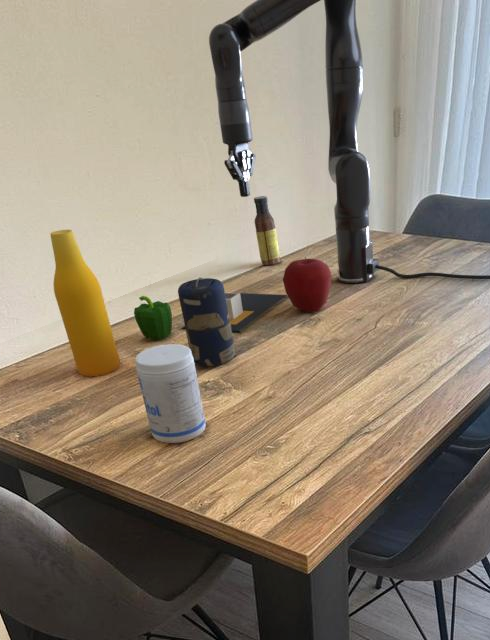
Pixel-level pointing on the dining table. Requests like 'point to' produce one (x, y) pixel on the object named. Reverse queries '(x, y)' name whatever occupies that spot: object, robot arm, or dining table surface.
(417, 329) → the dining table surface
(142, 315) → the bell pepper
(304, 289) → the apple
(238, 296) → the matte off-white cube
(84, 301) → the beer bottle
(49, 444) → the dining table surface
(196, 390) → the supplement tub
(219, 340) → the canister
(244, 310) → the mat
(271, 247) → the sauce bottle
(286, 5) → the robot arm
